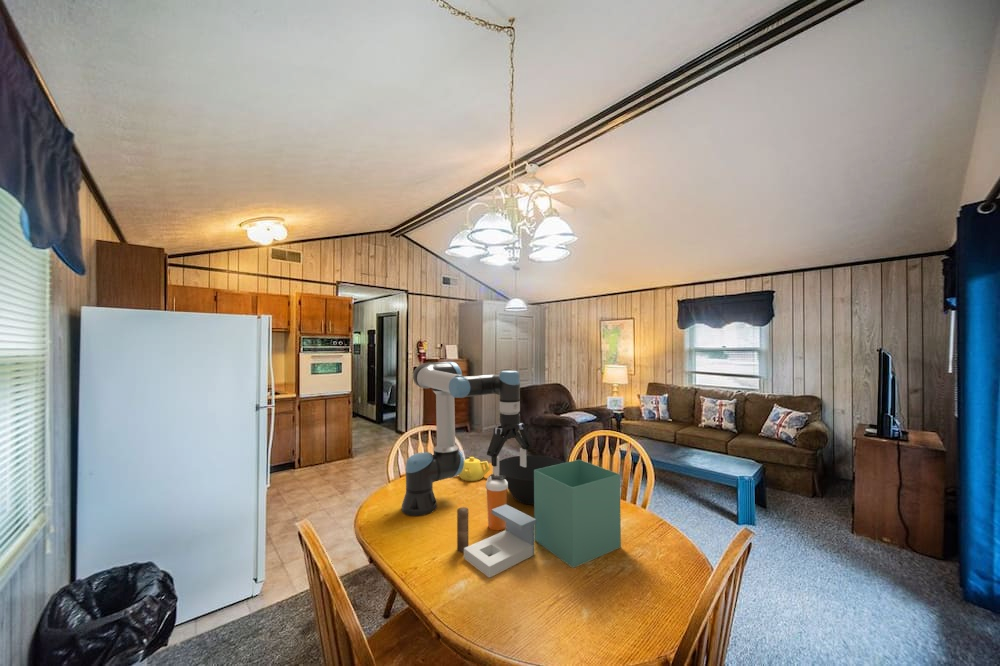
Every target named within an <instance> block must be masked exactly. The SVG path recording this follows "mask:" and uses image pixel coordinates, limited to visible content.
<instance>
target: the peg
mask: <svg viewBox="0 0 1000 666" xmlns="http://www.w3.org/2000/svg"><path fill="white" fill-rule="evenodd" d="M456 513H457V514H456V517H457V518H456V521H457V522H456V526H457V527H456V529H457V530H456V532H457V533H456V538H457V539H456V542H457V543H456V544H457V545H456V546H457V547H456V551H457V552H458V553H464V548H465V547H468V546H469V508H468V507H467V506H466V507H465V506H464V507H463V506H461V507H458V508H457V510H456Z"/></svg>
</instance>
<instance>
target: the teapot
mask: <svg viewBox="0 0 1000 666" xmlns="http://www.w3.org/2000/svg"><path fill="white" fill-rule="evenodd" d="M490 470H491V468H490V465H489V462H488V460H485V461H481V460H480V459H478V458H475V457H474V456H469V458H466V459H464V466H463V470H462V472H461V473H460V474H459V475H458V476H459V478H461V480H462V481H464V480H465V482H477V481H481V480H482V479H483V478H484V477H485V475H486V474H487V473H488V472H489V471H490ZM480 479H481V480H480Z"/></svg>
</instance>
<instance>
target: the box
mask: <svg viewBox="0 0 1000 666" xmlns="http://www.w3.org/2000/svg"><path fill="white" fill-rule="evenodd" d="M533 505H534V506H533V510H534V511H533V513H534V515H533V518H535V519H536V524H534V542H537V544H539V545H540V546H542V547H543V548H545V549H546V550H547V551H549V552H550V553H552V554H553V555H554V556H556V557H557V558H559V560H561V561H563V562H564V563H565V564H566V565H568V566H569V567H571V568H573V569H574V568H576V567H579V566H581V565H583V564H586V563H588V562H590V561H592V560H593V561H594V560H595V559H597V558H600V557H601V556H604V555H607V554H608V553H611V552H613V551H616V550H618V549H620V548H622V537H621V535H622V534H621V533H622V531H621V530H622V529H621V528H622V527H621V526H622V525H621V520H622V519H621V474H620V473H618V472H615V471H611V470H610V469H606V468H603V467H601V466H598V465H596V464H593V463H590V462H587V461H585V460H582V459H577V460H576V459H575V460H572V461H567V462H565V463H562V464H558V465H553V466H549V467H545V468H540V469H536V470H534V504H533Z"/></svg>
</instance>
